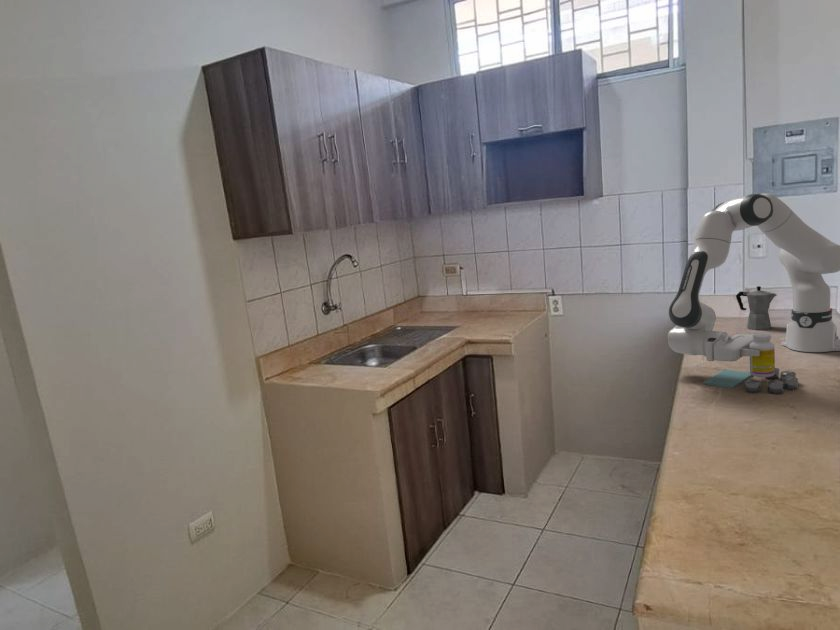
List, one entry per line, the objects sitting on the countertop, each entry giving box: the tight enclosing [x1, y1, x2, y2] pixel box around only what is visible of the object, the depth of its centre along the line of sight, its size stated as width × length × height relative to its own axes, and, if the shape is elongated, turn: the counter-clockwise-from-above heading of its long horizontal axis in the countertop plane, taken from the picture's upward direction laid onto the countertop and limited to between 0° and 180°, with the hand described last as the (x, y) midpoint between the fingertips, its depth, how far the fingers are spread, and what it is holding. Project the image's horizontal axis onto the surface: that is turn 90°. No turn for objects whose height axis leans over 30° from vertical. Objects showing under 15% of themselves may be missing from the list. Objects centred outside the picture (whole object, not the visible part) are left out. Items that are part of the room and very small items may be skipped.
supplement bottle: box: [749, 332, 776, 378], centre depth 174 cm, size 7×7×13 cm
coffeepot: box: [735, 285, 778, 331], centre depth 240 cm, size 15×9×18 cm, turn 44°
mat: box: [703, 368, 754, 389], centre depth 183 cm, size 16×9×1 cm, turn 130°
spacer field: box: [744, 367, 799, 395], centre depth 172 cm, size 19×12×3 cm, turn 130°
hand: (765, 349), depth 173 cm, fingers closed on supplement bottle, 7 cm apart
